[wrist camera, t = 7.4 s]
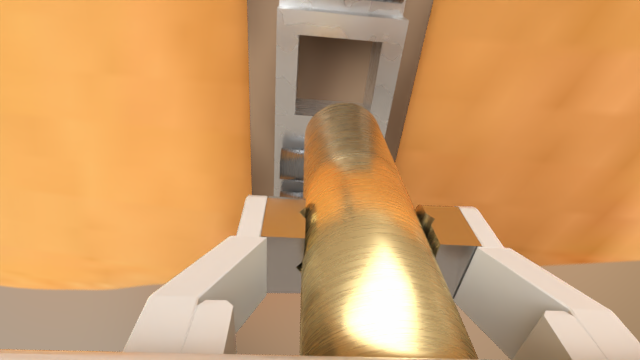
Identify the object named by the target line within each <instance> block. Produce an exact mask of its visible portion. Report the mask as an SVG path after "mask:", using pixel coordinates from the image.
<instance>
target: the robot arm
mask: <svg viewBox="0 0 640 360" xmlns="http://www.w3.org/2000/svg"><path fill="white" fill-rule="evenodd" d="M305 211H306V199H304V198H290V197H277V196H268V197H267V196H262V195H248V196H247V197H246V200H245V204H244V208H243V212H242V216H241V219H240V223H239V227H238V231H237V234H236V236H229V237H228V238H226V239H225V240H224V241H222V242H221V243H220V244H218V245H217V246H216V247H214V248H213V249H212V250H210V251H209V252H208V253H206V254H205V255H204V256H202V257H201V258H200V259H198V260H197V261H196V262H194V263H193V264H192V265H190V266H189V267H187V268H186V269H185V270H183V271H182V272H181V273H179V274H178V275H177V276H175V277H174V278H173V279H171V280H170V281H169V282H167V283H166V284H165V285H163V286H162V287H161V288H159V289H158V290H157V291H155V292H154V293H153V294H151V295H150V296H149V298H148V300H147V302H146V304H145V306H144V308H143V310H142V312H141V315H140V316H139V318H138V320H137V322H136V325H135V327H134V329H133V331H132V333H131V335H130V337H129V339H128V341H127V343H126V346H125V348H124V350H123V352H108V351H59V350H58V351H57V350H56V351H55V350H10V349H0V360H482V359H440V358H393V357H346V356H299V355H251V354H250V355H249V354H237V350H236V337H235V334H236V333H237V331H238V330H239V329H240V328H241V327H242V325H243V324H244V323H245V321H246V320H247V319H248V317H249V316H250V315H251V314H252V313H253V311H254V310H255V309H256V308H257V306H258V305H259V304H260V303H261V301H262V300H263V299H264V298H265V296H266V294H267V293H301V270H302V261H303V259H304V248H305V226H306V219H305ZM415 212H416V214H417V216H418V219H419V221H420V223H421V226H422V228H423V230H424V233H425V235H426V237H427V240H428V242H429V244H430V247H431V249H432V251H433V254H434V256H435V259H436V261H437V263H438V266H439V268H440V270H441V273H442V275H443V277H444V280H445V282H446V284H447V287H448V289H449V291H450V294H451V296H452V298H453V299H454V300H453V301H454V302H455V303H456V304H457V305H458V306H459V307H460V308H461V309H462V310H463V311H464V312H465V313H466V314H467V315H468V316H469V318H470V319H471V320H472V321H473V322H474V323H475V324H477V326H478V327H479V328H480V329H481V330H482V331H483V332H484V333H485V334H486V335H487V336H488V337H489V338H490V339H491V340H492V341H493V342H494V343H495V344H496V345H497V346H498V347H499V348H500V349H501V350H502V351H503V352H504V353H505V354H506V355H507V356H508V357H509V358H510V359H511V360H640V343H639V342H638V340H637V339H636V338H635V337H634V336H633V335H632V334H631V332H630V331H629V330H628V329H627V328H626V326H624V324H623V323H622V322H621V321H620V320H619V318H618V317H617V316H616V315H615V314H614V313H613V312H612V311H611V310H609V309H608V308H606V307H604V306H603V305H601V304H600V303H598V302H596V301H595V300H593V299H592V298H590V297H588V296H587V295H585V294H583V293H582V292H580V291H579V290H577V289H575V288H574V287H572V286H571V285H569V284H567V283H566V282H564V281H562V280H561V279H559V278H558V277H556V276H554V275H553V274H551V273H549V272H548V271H546V270H544V269H543V268H541V267H540V266H538V265H537V264H535V263H533V262H532V261H530V260H528V259H527V258H525V257H524V256H522V255H520V254H519V253H517V252H516V251H514V250H512V249H511V248H504V247H503V245H502V244H501V242H500V241H499V239H498V238H497V237H496V235H495V234H494V232H493V231H492V229H491V228H490V226H489V225H488V224H487V222H486V221H485V219H484V218H483V216H482V215H481V213H480V212H479V211H478V209H477V208H475V207H473V206H454V207H453V206H429V205H418V206H417V207H416V209H415ZM483 360H486V359H483Z"/></svg>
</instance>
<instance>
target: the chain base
mask: <svg viewBox="0 0 640 360" xmlns="http://www.w3.org/2000/svg"><path fill="white" fill-rule="evenodd" d="M432 4H433V0H406V3H405V8H404V13H403V17H405V18H406V19H408V20H409V24H408V28H407V33H406V38H405V43H404V48H403V52H402V57H401V62H400V67H399V71H398V76H397V81H396V86H395V91H394V95H393V100H392V105H391V110H390V115H389V119H388V124H387V129H386V134H385V142H386V144H387V146H388V149H389V151H390V153H391V156H392V158H393V160H394V163H395V160H396V156H397V152H398V148H399V143H400V139H401V135H402V131H403V127H404V122H405V118H406V114H407V110H408V105H409V101H410V97H411V93H412V88H413V84H414V80H415V76H416V72H417V67H418V63H419V59H420V55H421V50H422V46H423V42H424V38H425V34H426V29H427V25H428V21H429V17H430V12H431V8H432ZM278 6H279V0H247V12H248V52H249V92H250V132H251V172H252V195H262V196H267V197H268V196H274V147H275V87H276V28H277V7H278ZM372 44H373V41H364V40H353V39H341V38H330V37H319V36H308V35H300V43H299V63H298V82H297V98H300V99H313V100H326V101H339V102H352V103H363V100H364V94H365V88H366V81H367V75H368V69H369V63H370V57H371V50H372Z"/></svg>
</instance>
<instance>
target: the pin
mask: <svg viewBox="0 0 640 360" xmlns="http://www.w3.org/2000/svg"><path fill="white" fill-rule="evenodd" d="M303 198H304V199H306V211H305V219H306V226H305V248H304V259H303V261H302V270H301V315H300V316H301V317H300V356H346V357H393V358H440V359H478V357H477V354H476V352H475V350H474V347H473V345H472V343H471V340H470V338H469V336H468V334H467V331H466V329H465V326H464V324H463V322H462V319H461V317H460V315H459V312H458V310H457V308H456V305H455V303H454V301H453V298H452V296H451V294H450V291H449V289H448V287H447V284H446V282H445V280H444V277H443V275H442V273H441V270H440V268H439V266H438V263H437V261H436V259H435V256H434V254H433V251H432V249H431V247H430V244H429V242H428V240H427V237H426V235H425V233H424V230H423V228H422V226H421V223H420V221H419V219H418V216H417V214H416V212H415V209H414V207H413V205H412V202H411V200H410V198H409V195H408V193H407V191H406V188H405V186H404V184H403V181H402V179H401V177H400V174H399V172H398V170H397V167H396V165H395V163H394V160H393V158H392V156H391V153H390V151H389V149H388V146H387V144H386V142H385V139H384V137H383V135H382V132H381V130H380V128H379V125H378V123H377V121H376V119H375V118H374V116H373V115H372V114H371V113H370V112H369V111H368V110H367V109H365V108H363V107H362V106H359V105H357V104H353V103H346V102H342V103H335V104H331V105H328V106H326V107H324V108H322V109H321V110H319V111H318V112H317V113H316V114H315V115H314V116H313V117H312V118H311V120H310V121H309V123H308V125H307V127H306V131H305V137H304V181H303Z"/></svg>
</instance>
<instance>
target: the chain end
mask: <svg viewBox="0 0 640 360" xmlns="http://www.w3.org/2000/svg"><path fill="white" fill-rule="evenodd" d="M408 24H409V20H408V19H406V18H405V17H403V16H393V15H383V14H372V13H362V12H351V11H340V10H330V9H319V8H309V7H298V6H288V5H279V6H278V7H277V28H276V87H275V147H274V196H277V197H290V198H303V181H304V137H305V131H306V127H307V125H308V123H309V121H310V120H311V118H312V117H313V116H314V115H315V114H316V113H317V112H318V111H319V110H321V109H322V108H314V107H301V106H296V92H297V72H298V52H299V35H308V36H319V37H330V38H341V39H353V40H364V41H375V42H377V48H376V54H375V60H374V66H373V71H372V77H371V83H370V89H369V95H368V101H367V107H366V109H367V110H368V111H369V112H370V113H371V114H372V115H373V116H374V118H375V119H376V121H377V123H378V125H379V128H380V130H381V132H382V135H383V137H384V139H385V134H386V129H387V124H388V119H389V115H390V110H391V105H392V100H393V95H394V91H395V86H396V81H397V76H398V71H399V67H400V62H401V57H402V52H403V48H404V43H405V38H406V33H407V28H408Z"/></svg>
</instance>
